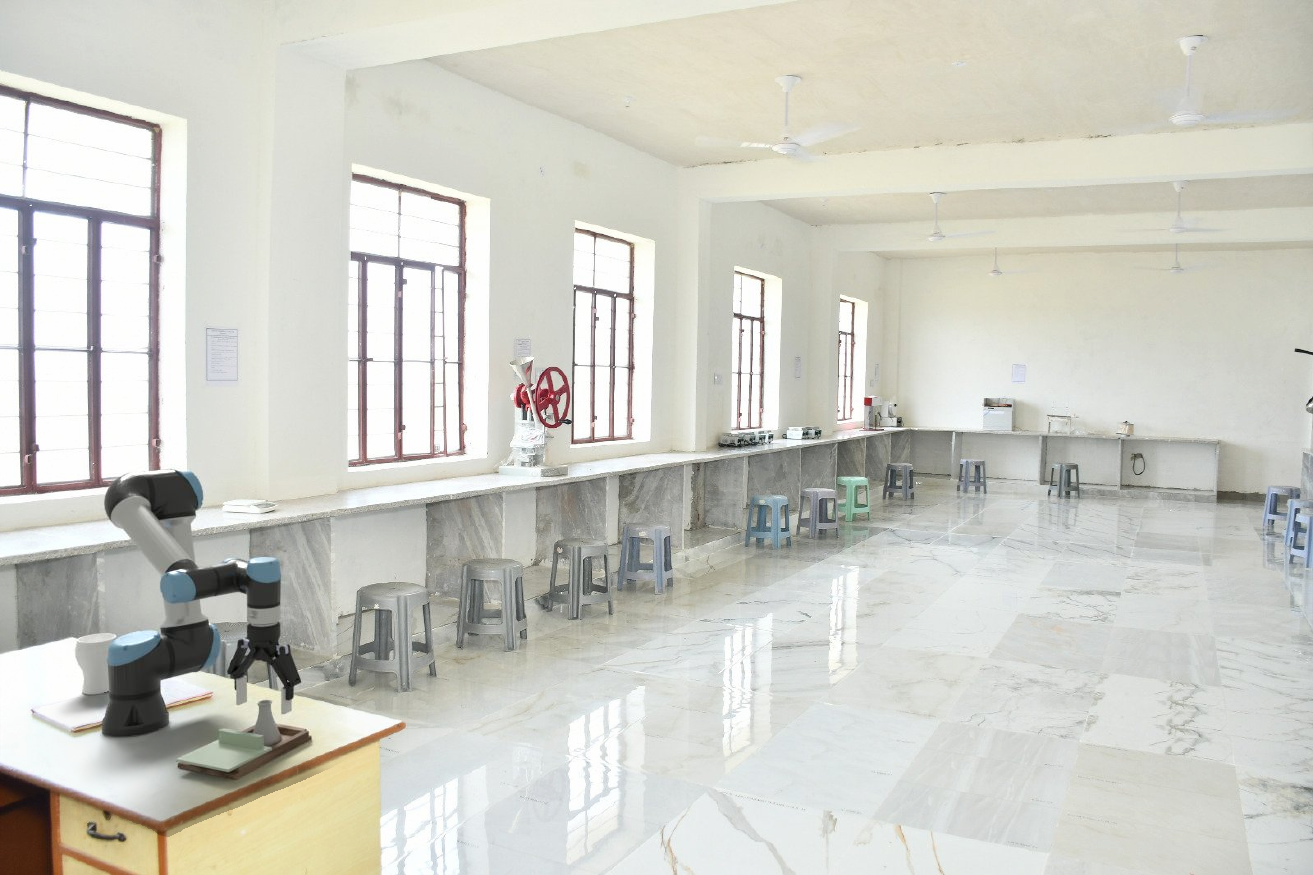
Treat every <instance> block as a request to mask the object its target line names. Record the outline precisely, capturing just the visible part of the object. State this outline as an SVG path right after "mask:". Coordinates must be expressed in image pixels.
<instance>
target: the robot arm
mask: <svg viewBox="0 0 1313 875" xmlns="http://www.w3.org/2000/svg"><path fill="white" fill-rule="evenodd" d="M103 499H104V500H103V501H104V502H103V505H104V510H105V511H104V512H105V514H106V516H107V518H108V519H109V521H110V522H111V523H112V525H114V527H116V528H118V529H122V530H123V531H124V532H125V534H127V536H128V537H129V538H130V540H131V541H132V542H133V543H134V544H135V546H136V547H137V548H138V549H139V551H140V552H141V553H142V554H143V555H144V557H145V558H146V559H147V560H148V563H150V564H151V566H152V568H154V569H155V571H156V572H157V573H158V575H160V582H159V590H160V593H161V594H162V595H161V596H162V599H163V606H164V616H165V619H164V620H163V622H162V623H161V624H160V625H159V630H160V633H159V632H158V631H157V630H154V629H144V630H137V631H132V632H129V633H126V634H123V635H121V636H118V637H117V639H115V640H114V641H113V642H112V643H111V644H110V645H109V648H108V658H107V663H108V680H109V692H108V703H107V706H106V710H105V714H104V717H103V718H102V720H101V732H102V734H104V735H106V736H108V737H115V738H116V737H117V738H124V737H125V738H128V737H136V736H138V737H139V736H142V735H146V734H150V733H155V732H157V731H159V730H162V729H164V728H165V727H167V725H168V724H169V723H170V713H169V710H168V709H167V705H166V702H165V700H164V698H163V695H162V693H161V692H162V691H161V690H162V688H161V687H162V685H161V683H162V681H163V680H169V679H171V678H176V677H179V676H184V675H188V674H191V673H199V672H200V671H203V670H206V669H209V668H211V667H212V666H213V665H214V664H215V663H216V662H217V659H218V658H219V656H220V653H221V646H222V645H221V643H222V640H221V635H220V632H219V631H218V630H219V629H218V627H217V625H215V624H213V623H210V622H209V617H208V616H206V615H205V614H204V613H202V606H201V600H203V599H208V598H213V597H220V596H224V595H229V594H230V595H231V594H235V593H240V594H244V595H246V620H247V621H246V622H247V625H246V637H243V638H240V639H238V640H237V645H236V646H237V647H236V650H235V652H234V655H233V656H232V659H231V661H230V663H229V666H228V668H227V670H226V672H227V675H231V676H232V678H233V679H234V681H233V683H234V687H233V688H234V690H235V691H236V692H235V694H236V695H235V698H236V700H235V701H236V702H235V704H236V706H240V705H241V706H242V705H243V704H245V703H247V702H248V684H247V683H248V676H247V675H246V672H247V671H248V670H249V669H250V667H252V665H253V664H254V662H255V661H261V662H264V663H267V664H268V665H269V666H270V667H272V669H273V671H274V672H275V674H276V675H277V678H278V679H279V680H280V682H281V683H282V685H283V686H282V687H281V690H280V691H281V692H280V697H281V698H280V706H281V707H280V708H281V709H280V710H281V712H280V713H281V715H286V714H287V713H290V712H292V710H293V709H292V708H293V706H292V704H293V703H292V700H293V699H294V697H295V695H294V694H295V686H297V685H299V684H301V683H302V679H301V677H300V674H299V671H298V669H297V667H296V663H295V661H294V658H293V656H292V652H291V651H292V650H291V645H290V644H289V643H287V644H283V645H280V642H279V640H280V638H281V622H280V621H281V618H282V617H281V616H282V614H281V613H282V612H281V610H282V609H281V597H282V594H281V593H282V592H281V590H282V589H281V588H282V586H281V585H282V582H281V581H282V579H281V578H282V571H281V562H280V560H279V559H278V558H275V557H269V556H261V557H254V558H251V559H249V560H245V559H241V558H234V557H233V558H232V557H231V558H230V557H229V558H226V559H225V560H222V561H221V562H220V563H217V564H211V565H204V566H198V564H196V559H195V558H196V556H195V550H194V549H195V548H194V541H193V540H194V539H193V533H192V532H193V531H192V525H191V524H192V523H193V522H194V520H195V519H196V518H197V512H196V511H198V510H200V509H201V508H202V506H203V501H204V490H203V486H202V483H201V481H200V480H199V478H198V477H197V475H195V473H194V472H192V471H191V470H189V469H186V468H169V469H160V470H158V469H155V470H147V471H131V472H127V473H125V474H123V475H121V476H119V477H118V478H116V479H114V481H112V482H111V484H110V485H109V486H108V488H107V489H106V492H105V495H104V498H103ZM248 650H250V651H249V652H248V654H246V653H247V651H248ZM245 655H246V656H245ZM244 658H245V659H244Z"/></svg>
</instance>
